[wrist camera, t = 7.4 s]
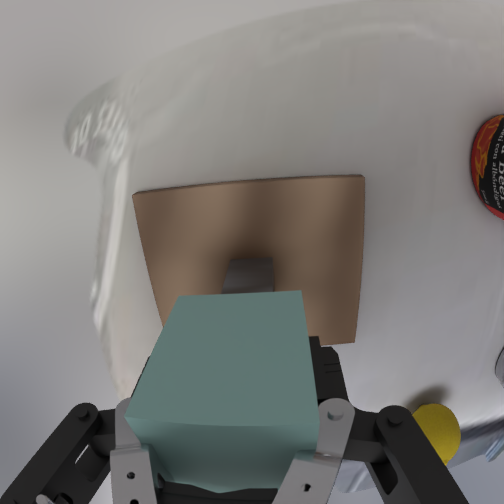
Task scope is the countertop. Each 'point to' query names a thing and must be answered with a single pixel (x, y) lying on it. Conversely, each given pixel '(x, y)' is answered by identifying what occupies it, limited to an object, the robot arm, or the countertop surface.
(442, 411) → the lemon
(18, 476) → the robot arm
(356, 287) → the stand
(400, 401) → the countertop surface
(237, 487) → the mint foam cube
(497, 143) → the canned food
